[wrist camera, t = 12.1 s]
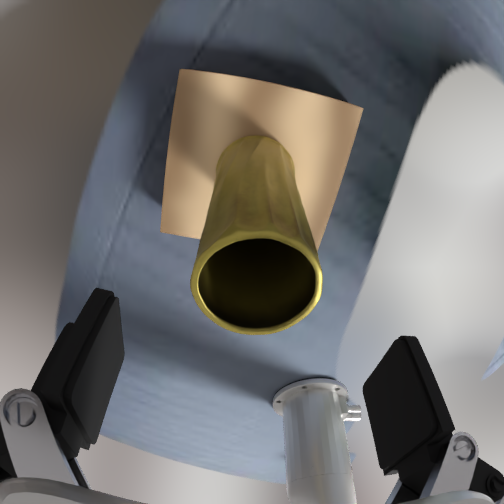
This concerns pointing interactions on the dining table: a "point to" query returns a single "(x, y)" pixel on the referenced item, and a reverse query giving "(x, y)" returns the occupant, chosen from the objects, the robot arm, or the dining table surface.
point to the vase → (256, 243)
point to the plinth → (252, 124)
